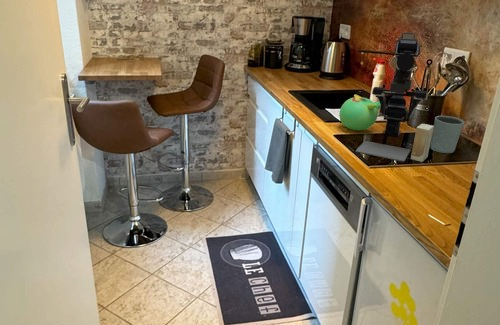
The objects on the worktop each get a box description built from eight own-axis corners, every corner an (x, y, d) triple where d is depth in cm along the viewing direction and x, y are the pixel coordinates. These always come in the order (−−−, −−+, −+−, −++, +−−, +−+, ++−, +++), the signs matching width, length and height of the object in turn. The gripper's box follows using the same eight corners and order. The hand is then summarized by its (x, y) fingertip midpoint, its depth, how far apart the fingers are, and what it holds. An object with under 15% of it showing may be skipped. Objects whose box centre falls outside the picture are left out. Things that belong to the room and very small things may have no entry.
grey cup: (433, 142, 163) (439, 114, 159) (460, 149, 157) (467, 119, 153) (425, 149, 156) (431, 119, 151) (453, 156, 150) (460, 125, 145)
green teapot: (344, 120, 188) (348, 89, 182) (381, 127, 181) (387, 94, 175) (332, 131, 173) (336, 97, 168) (372, 138, 166) (377, 103, 160)
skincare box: (415, 154, 151) (422, 122, 146) (427, 157, 149) (434, 125, 144) (409, 159, 146) (416, 126, 142) (422, 162, 144) (428, 129, 139)
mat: (364, 141, 162) (364, 140, 162) (410, 150, 155) (410, 149, 154) (355, 151, 152) (355, 150, 152) (404, 161, 144) (404, 160, 144)
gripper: (372, 69, 145) (365, 113, 147) (428, 73, 136) (420, 119, 139) (378, 73, 155) (372, 114, 157) (431, 76, 146) (423, 120, 148)
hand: (395, 116), depth 150 cm, fingers open, 9 cm apart
